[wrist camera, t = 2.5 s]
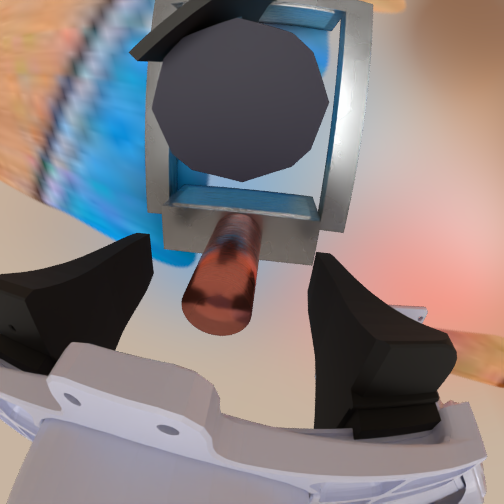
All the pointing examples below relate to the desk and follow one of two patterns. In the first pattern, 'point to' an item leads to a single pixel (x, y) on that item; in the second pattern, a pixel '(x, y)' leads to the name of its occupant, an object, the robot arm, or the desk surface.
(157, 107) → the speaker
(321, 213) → the vise body
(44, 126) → the desk surface
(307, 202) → the jaw slide
